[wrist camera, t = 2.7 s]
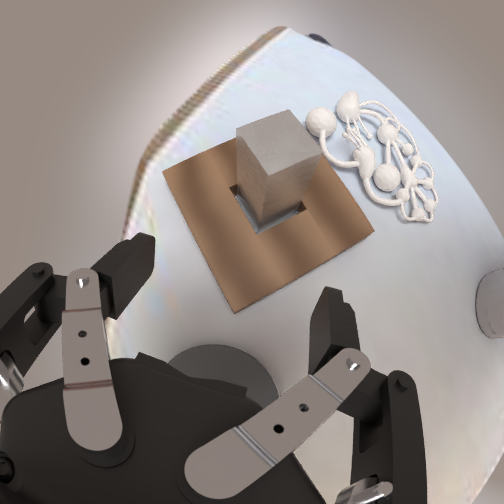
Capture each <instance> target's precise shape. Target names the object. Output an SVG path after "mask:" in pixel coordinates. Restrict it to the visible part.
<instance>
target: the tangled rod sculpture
mask: <svg viewBox="0 0 504 504" xmlns="http://www.w3.org/2000/svg"><path fill="white" fill-rule="evenodd" d="M371 103H372V104H377V105H379V106H381V107H382V108H384V109H385V110H386V111H387V112H388V113H389V114H390V115H391V116H392V117H393V118H391V117H387V118H385V119H384V118H383V117H382V116H381V115H380V114H378V113H377V112H375V111H372V110H368V109H360V107H362V106H364V105H367V104H371ZM336 111H337V114H338V116H339V118H340V119H341V120H342V121H344V122H346V123H347V128H346V130H347V132H348V133H346V132H344V133H343V134H342V136H343V137H344V138H347V141H348V142H350V143H351V142H353V143H354V144H355V146H356V147H357V148H356V149H354V151H353V158H354V161H350V162H343V161H340V160H338V159H336V158H334V157H333V156H332V155H331V154H330V153H329V152H328V150H327V147H326V137H328V136H330V135H331V134H333V133H334V131H335V130H336V127H337V119H336V117H335V115H334V114H333V113H332V112H331V111H330V110H328V109H327V108H323V107H318V108H315V109H312V110H311V111H310V112H309V113H308V115H307V117H306V126H307V129H308V130H309V132H310V133H311V134H313V135H314V136H316V137H320V139H319V141H320V148H321V149H322V151H323V155H324V156H325V158H326V159H327V160H329V161H330V162H331V163H333V164H335V165H336V166H339V167H343V168H351V167H358V169H359V172H360V176H361V178H362V179H363V182H364V187H365V190H366V192H367V193H368V195H369V196H370V198H371V199H372V200H373V201H375V202H377V203H379V204H383V205H388V206H398V205H401V213H402V216H403V217H404V219H406V220H407V221H414V220H415V221H422V220H425V221H426V222H432V221H433V219H434V214H433V211H434V210H435V208H436V205H437V203H438V195H437V193H436V190H435V188H434V187H433V186H434V182H433V179H434V171H433V168H432V166H431V165H430V164H429V163H428V162H425V161H423V160H422V158H421V157H420V154H419V150H418V146H417V144H416V141H415V139H414V138H413V136H412V134H411V133H410V132H409V131H408V130H407V129H406V128H405V127H404V126H403V125H402V124H401V123H400V122H399V121H398V119H397V118H396V117H395V115H394V114H393V113H392V112H391V111H390V110H389V109H388V108H387V107H386V106H385V105H383V104H382V103H380V102H377V101H373V100H371V101H366V102H363V103H360V104H359V98H358V94H357V93H356V92H354V91H350V92H347V93H346V94H344V95H343V96H342V97H341V98H340V99H339V101H338V105H337V108H336ZM360 114H367V115H371V116H374V117H375V118H377V119H378V120H379V121H380V122H381V124H382V125H381V126H380V127H379V128H378V131H377V136H378V139H379V140H380V142H382V143H383V144H385V145H386V164H381V165H379V166H378V167H377V168H376V170H375V172H374V169H375V158H376V157H375V153H374V151H373V150H372V149H371V148H370V147H368V146H367V144H366V143H365V141H364V140H363V139H362V137H361V136H360V131H359V128H358V125H357V123H356V121H358V120H359V122H360V124H361V126H362V127H363V129H364V130H365V132H366V133H367V138H368V139H372V138H373V135H372V134H371V133H369V131H368V130H367V129H366V127H365V126H364V124H363V122H362V120H361V118H360ZM388 120H391V121H393V122H394V123H396V124H397V126H398V128H397V129H396V128H395V127H394V126H393V125H391V124H388ZM350 123H354V125H355V128H356V129H355V128H352V129H351V127H350ZM401 128H402V129H403V130H404V131H405V132H406V133H407V134H408V135H409V137H410V138H411V140H412V142H413V144H414V147H415V150H416V155H414V156H412V157H411V164H412V166H413V168H412V170H410V169H409V167H408V166H407V165H406V164H405V162H404V159H403V157H402V155H401V152H400V150H399V148H398V146H397V144H396V142H397V143H398V144H400V145H401V146H402V152H403V153H404V154H405V155H407V156H408V155H411V154H412V153H413V151H414V149H413V146H412V145H411V144H409V143H405V144H404V143H403V142H402V141H401V140H400V139H399V138H398V137H399V135H398V131H400V129H401ZM356 131H357V132H356ZM351 135H352V136H353V137H354V138H355V139H356V140H357V142H358V143H359V145H360V146H359V145H358V144H357V143H356V142H355V141H354V140H353V139H352V138H351ZM362 143H363V144H364V145H363V144H362ZM390 145H393V147H394V150H395V152H396V154H397V156H398V159H399V161H400V163H401V170H400V173H399V171H398V169H397V168H396V167H395V166H394V165H391V152H390ZM422 164H425V165H427V166H428V167H429V168H430V170H431V178H430V177H425V178H424V179H423V180H421V179H417V177H416V176H415V172H416V170H417V168H418V167H421V165H422ZM373 172H374V182H375V184H376V185H377V187H378V188H379V189H381V190H383V191H393V190H395V189H396V188H397V187H398V186H399V184H400V179H401V180H402V183H403V185H404V186H405V187H404V188H401V189H399V190H398V191H397V193H396V198H397V200H389V199H384V198H381V197H378V196H377V195H375V193H374V192H373V190H372V189H371V186H370V182H369V179H370V178H371V176H372V174H373ZM417 184H422V186H423V187H424V188H425V189H426V190H430V189H432V191H433V193H434V195H435V201H434V200H432V199H427V198H426V197H425V195H424V194H423V193H422V192H421V190H420V189H419V188H418V187H417ZM409 189H410V193H411V198H412V203H413V208H414V209H413V210H412V218H410V217H407V216H406V214H405V212H404V203H405V202H407V201H408V200H409V198H410V194H409ZM415 192H416V193H417V194H418V195H419V197H420V198H421V199H422V200H423V202H424V208H425V210H426V211H428V212H430V214H431V217H430V219H428V218H426V217H424V216H425V213H424V210H423V209H422V208H420V207H418V206H417V200H416V195H415Z"/></svg>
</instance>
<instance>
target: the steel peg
mask: <svg viewBox="0 0 504 504" xmlns="http://www.w3.org/2000/svg"><path fill="white" fill-rule="evenodd" d="M236 152H237V201H238V202H239V204H240V206H241V207H242V209H243V211H244V212H245V214H246V216H247V218H248V219H249V221H250V223H251V224H252V226H253V228H254V229H255V231H256V233H257V235H258V234H260V233H262V232H264V231H266V230H268V229H269V228H271V227H273V226H275V225H277V224H279V223H281V222H283V221H285V220H287V219H289V218H291V217H293V216H295V214H296V212H297V210H298V207H299V205H300V203H301V201H302V199H303V196H304V194H305V192H306V190H307V188H308V185H309V183H310V181H311V179H312V177H313V174H314V172H315V170H316V168H317V165H318V163H319V161H320V159H321V156H322V154H323V151H322V149H321V148H320V147H319V146H318V144H317V143H316V142H315V140H314V139H313V138H312V137H311V135H310V134H309V133H308V132H307V130H306V129H305V128H304V127H303V125H302V124H301V123H300V122H299V121H298V119H297V118H296V117H295V116H294V115H293V113H292V112H291V111H290V110H286V111H283V112H280V113H277V114H274V115H271V116H268V117H266V118H263V119H260V120H257V121H255V122H252V123H249V124H247V125H244V126H242V127H239V128H237V129H236Z"/></svg>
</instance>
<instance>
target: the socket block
mask: <svg viewBox="0 0 504 504" xmlns="http://www.w3.org/2000/svg"><path fill="white" fill-rule="evenodd" d="M162 173H163V175H164V177H165V179H166V181H167V183H168V185H169V188H170V190H171V192H172V194H173V196H174V198H175V200H176V202H177V204H178V206H179V208H180V210H181V212H182V214H183V216H184V218H185V220H186V222H187V224H188V226H189V228H190V230H191V232H192V234H193V236H194V238H195V240H196V242H197V244H198V246H199V248H200V250H201V252H202V254H203V256H204V257H205V259H206V261H207V263H208V265H209V267H210V269H211V271H212V273H213V275H214V276H215V278H216V280H217V282H218V284H219V286H220V288H221V290H222V291H223V293H224V295H225V297H226V299H227V301H228V302H229V304H230V306H231V308H232V310H233V312H234V313H237V312H239V311H241V310H243V309H244V308H246V307H248V306H250V305H252V304H254V303H255V302H257V301H259V300H261V299H263V298H264V297H266V296H268V295H270V294H272V293H273V292H275V291H277V290H279V289H281V288H282V287H284V286H286V285H288V284H289V283H291V282H293V281H295V280H296V279H298V278H300V277H302V276H303V275H305V274H307V273H309V272H310V271H312V270H314V269H315V268H317V267H319V266H320V265H322V264H324V263H326V262H327V261H329V260H331V259H332V258H334V257H336V256H337V255H339V254H341V253H342V252H344V251H346V250H347V249H349V248H351V247H352V246H354V245H355V244H357V243H359V242H360V241H362V240H364V239H365V238H367V237H368V236H369V235H370V234H372V233H373V232H374V231H375V230H374V229H373V227H372V225H371V224H370V222H369V221H368V219H367V218H366V216H365V215H364V213H363V211H362V210H361V208H360V207H359V205H358V204H357V202H356V201H355V199H354V198H353V196H352V195H351V194H350V192H349V191H348V189H347V188H346V186H345V185H344V183H343V182H342V181H341V179H340V178H339V176H338V175H337V174H336V172H335V171H334V169H333V168H332V167H331V165H330V164H329V163H328V161H327V160H326V159H325V157H324V156H323V155H322V156H321V159H320V161H319V163H318V165H317V168H316V170H315V172H314V174H313V177H312V179H311V181H310V183H309V185H308V188H307V190H306V192H305V194H304V196H303V199H302V201H301V203H300V205H299V207H298V210H297V211H298V213H299V214H297V215H295V216H293V217H291V218H289V219H287V220H285V221H283V222H281V223H279V224H277V225H275V226H273V227H271V228H269V229H268V230H266V231H264V232H262V233H260V234H258V235H257V234H256V232H255V231H254V229H253V227H252V226H251V224H250V222H249V221H248V219H247V217H246V215H245V214H244V212H243V210H242V209H241V207H240V205H239V204H238V202H237V200H236V199H235V197H234V196H236V195H237V152H236V138H234V139H231V140H229V141H227V142H224V143H222V144H220V145H217V146H215V147H213V148H211V149H208V150H206V151H204V152H202V153H199V154H197V155H195V156H193V157H191V158H189V159H187V160H184V161H182V162H180V163H178V164H176V165H174V166H172V167H170V168H168V169H166V170H164V171H162Z"/></svg>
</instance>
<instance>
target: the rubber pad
mask: <svg viewBox="0 0 504 504" xmlns="http://www.w3.org/2000/svg"><path fill="white" fill-rule="evenodd" d="M168 364H169V365H171V366H172V367H174V368H175V369H177V370H179V371H180V372H182V373H183V374H185V375H187V376H189V377H194V378H204V379H215V380H222V381H225V382H229V383H232V384H236V385H240V386H243V387H247V392H246V396H248V397H250V398H252V399H253V400H255V401H256V402H257V403H259V404H260V405H261V406H262V407H263V408H266V407H267V406H269V405H270V404H271V403H273V402H274V401H275V400H277V399H278V393H277V390H276V387H275V384H274V382H273V380H272V378H271V376H270V375H269V373H268V372H267V371H266V369H265V368H264V367H263V366H262V365H261V364H260V363H259V362H258V361H257V360H256V359H255V358H253V357H252V356H250V355H249V354H247V353H245V352H243V351H241V350H238V349H235V348H233V347H228V346H223V345H204V346H198V347H195V348H191V349H189V350H187V351H184V352H182V353H181V354H179V355H177V356H176V357H175V358H173V359H172V360H171V361H170V362H169V363H168Z"/></svg>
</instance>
